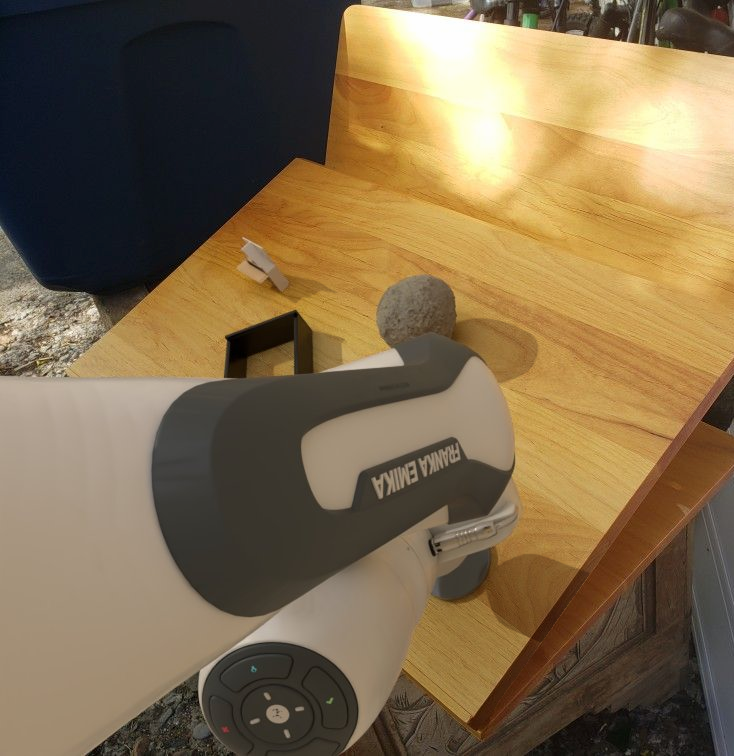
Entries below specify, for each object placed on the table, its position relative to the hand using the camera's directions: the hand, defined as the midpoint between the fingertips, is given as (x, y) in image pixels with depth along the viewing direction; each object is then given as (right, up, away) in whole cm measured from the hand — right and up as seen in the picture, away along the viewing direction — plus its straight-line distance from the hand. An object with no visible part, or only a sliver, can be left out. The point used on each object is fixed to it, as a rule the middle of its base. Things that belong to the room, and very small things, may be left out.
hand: (410, 506), depth 59 cm
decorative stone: (-1, +16, +28) cm, 32 cm away
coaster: (+3, -7, +9) cm, 12 cm away
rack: (-22, +10, +31) cm, 40 cm away
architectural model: (-27, +26, +45) cm, 58 cm away
